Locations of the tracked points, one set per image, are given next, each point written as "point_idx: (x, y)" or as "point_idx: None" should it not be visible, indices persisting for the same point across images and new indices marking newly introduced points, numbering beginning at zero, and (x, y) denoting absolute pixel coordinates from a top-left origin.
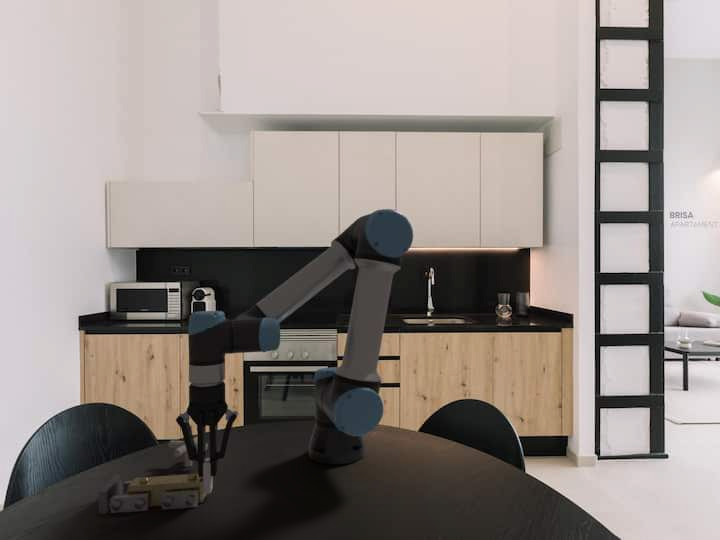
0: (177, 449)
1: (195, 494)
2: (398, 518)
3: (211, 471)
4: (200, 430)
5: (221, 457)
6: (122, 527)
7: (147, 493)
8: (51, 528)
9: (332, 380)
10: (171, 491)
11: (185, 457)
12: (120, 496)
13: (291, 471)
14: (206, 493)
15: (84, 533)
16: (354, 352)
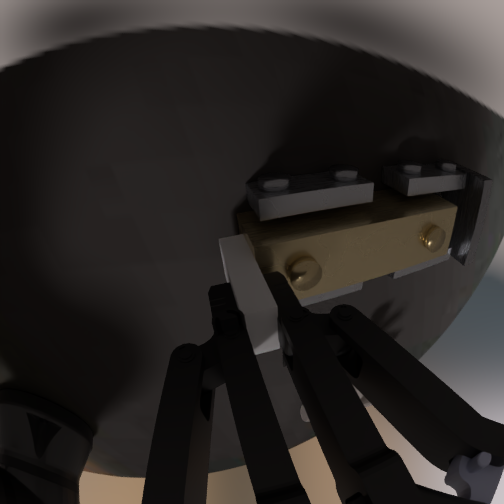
0: None
1: (262, 196)
2: None
3: (230, 295)
4: (374, 466)
5: (185, 349)
6: (408, 90)
7: (409, 195)
8: (491, 124)
9: None
10: (350, 213)
11: None
12: (454, 182)
13: (72, 376)
14: (232, 236)
15: (456, 88)
16: None
